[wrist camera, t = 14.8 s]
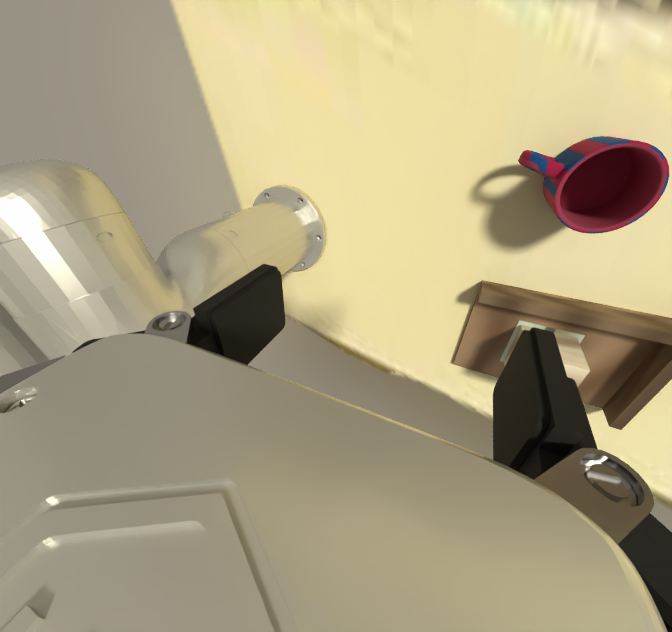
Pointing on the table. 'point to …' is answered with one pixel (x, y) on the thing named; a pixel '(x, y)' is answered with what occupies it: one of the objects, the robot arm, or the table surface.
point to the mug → (601, 182)
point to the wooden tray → (593, 335)
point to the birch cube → (564, 355)
